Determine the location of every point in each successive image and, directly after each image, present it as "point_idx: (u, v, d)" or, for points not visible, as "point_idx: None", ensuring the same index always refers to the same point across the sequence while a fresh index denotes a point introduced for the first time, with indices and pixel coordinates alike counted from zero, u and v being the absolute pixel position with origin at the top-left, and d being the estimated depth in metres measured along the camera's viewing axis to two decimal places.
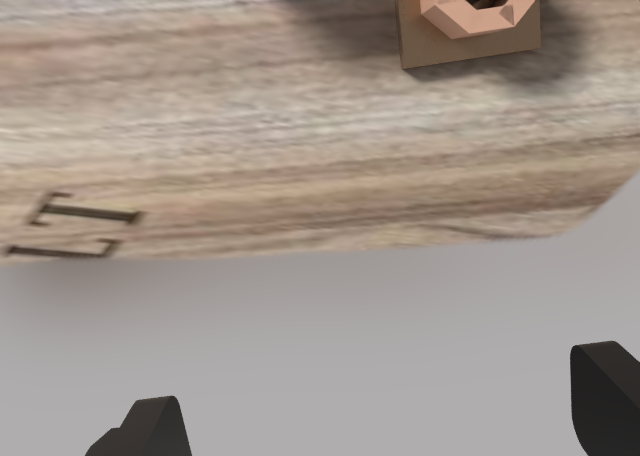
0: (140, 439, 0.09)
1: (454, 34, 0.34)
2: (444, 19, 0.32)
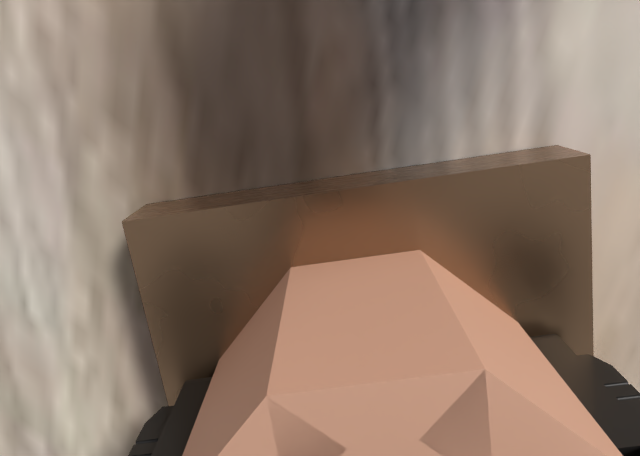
0: (196, 415, 0.10)
1: (208, 398, 0.09)
2: (234, 394, 0.08)
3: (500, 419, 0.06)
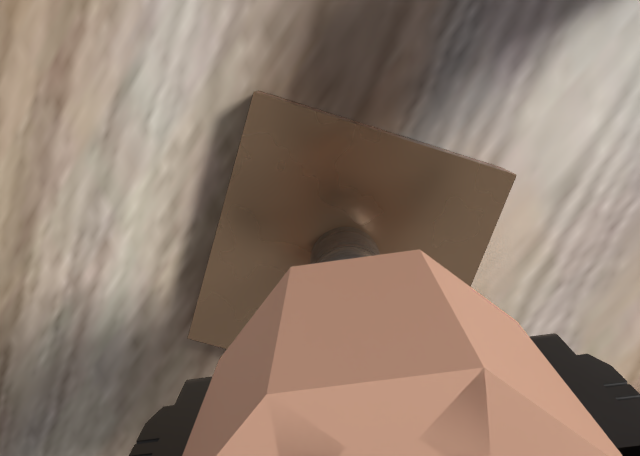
0: (197, 414, 0.10)
1: (208, 397, 0.10)
2: (235, 392, 0.08)
3: (499, 416, 0.06)
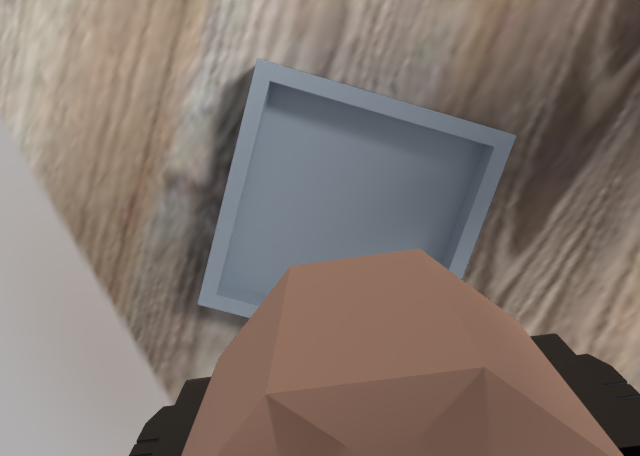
0: None
1: (207, 396, 0.09)
2: (234, 392, 0.08)
3: (499, 416, 0.06)
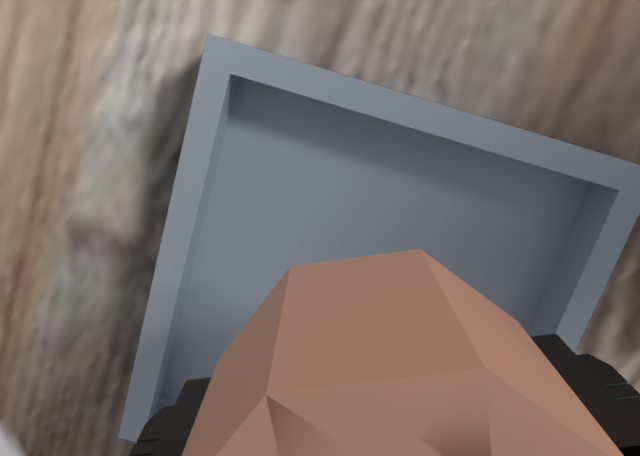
0: None
1: (208, 397, 0.09)
2: (234, 393, 0.08)
3: (499, 416, 0.06)
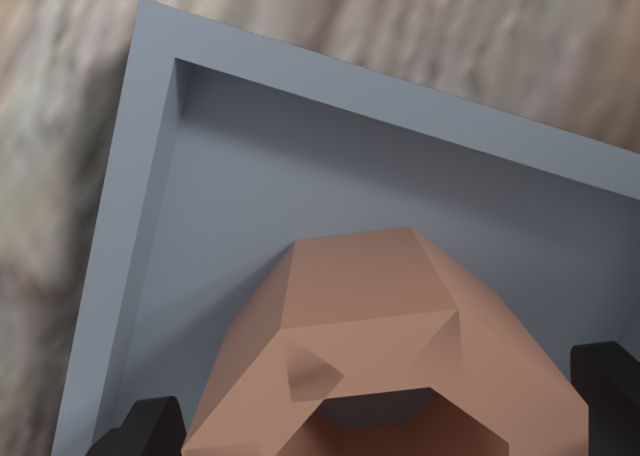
0: (140, 439, 0.09)
1: (223, 350, 0.11)
2: (249, 339, 0.09)
3: (470, 351, 0.08)
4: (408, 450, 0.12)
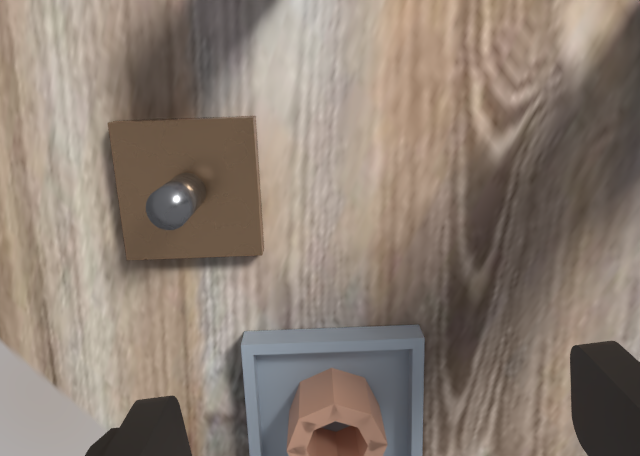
0: (140, 439, 0.09)
1: (289, 422, 0.38)
2: (294, 419, 0.37)
3: (340, 411, 0.35)
4: (354, 433, 0.39)
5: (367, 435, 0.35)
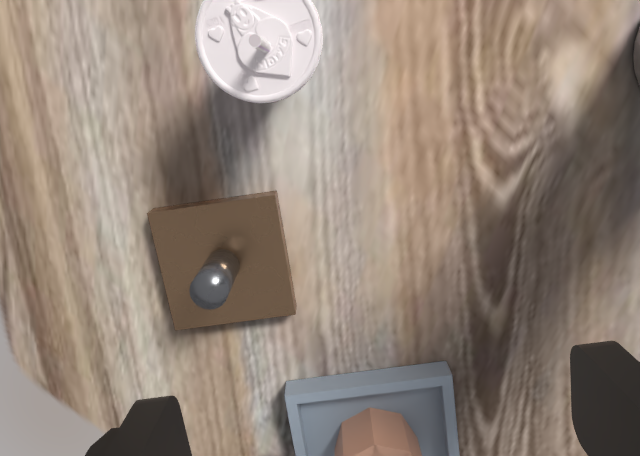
0: (140, 439, 0.09)
1: None
2: None
3: (381, 450, 0.38)
4: None
5: None
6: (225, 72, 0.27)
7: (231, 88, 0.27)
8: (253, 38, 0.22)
